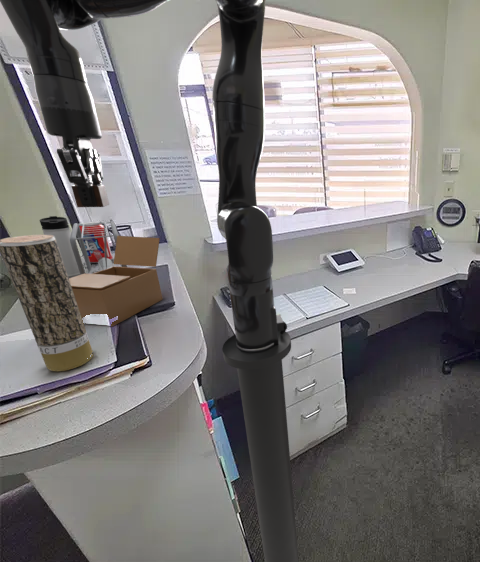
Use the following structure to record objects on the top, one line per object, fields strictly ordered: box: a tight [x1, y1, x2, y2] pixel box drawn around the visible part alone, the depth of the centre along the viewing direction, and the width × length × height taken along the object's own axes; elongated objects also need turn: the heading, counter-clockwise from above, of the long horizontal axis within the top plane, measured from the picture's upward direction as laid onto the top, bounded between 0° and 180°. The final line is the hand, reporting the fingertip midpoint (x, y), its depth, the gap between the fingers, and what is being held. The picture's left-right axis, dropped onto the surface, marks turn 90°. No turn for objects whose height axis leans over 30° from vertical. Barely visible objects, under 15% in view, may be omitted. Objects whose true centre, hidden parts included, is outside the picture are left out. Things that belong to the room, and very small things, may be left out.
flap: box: [113, 235, 161, 268], centre depth 88 cm, size 8×13×1 cm
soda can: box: [79, 221, 114, 264], centre depth 119 cm, size 8×8×15 cm
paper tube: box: [0, 234, 94, 372], centre depth 57 cm, size 7×7×25 cm
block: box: [70, 184, 110, 208], centre depth 61 cm, size 4×4×4 cm
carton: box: [69, 265, 164, 328], centre depth 81 cm, size 17×13×10 cm
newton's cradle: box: [70, 220, 128, 275], centre depth 99 cm, size 30×10×18 cm, turn 41°
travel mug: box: [39, 215, 80, 278], centre depth 102 cm, size 6×7×20 cm
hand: (94, 204), depth 62 cm, fingers closed on block, 4 cm apart
